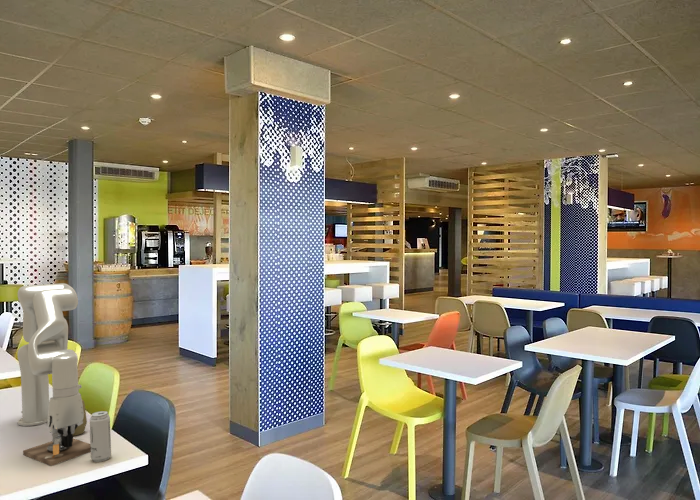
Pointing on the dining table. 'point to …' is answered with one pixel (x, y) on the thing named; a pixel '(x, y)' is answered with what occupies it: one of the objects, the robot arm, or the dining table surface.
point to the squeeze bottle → (81, 428)
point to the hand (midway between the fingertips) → (67, 446)
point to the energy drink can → (100, 436)
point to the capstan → (56, 444)
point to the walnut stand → (50, 459)
